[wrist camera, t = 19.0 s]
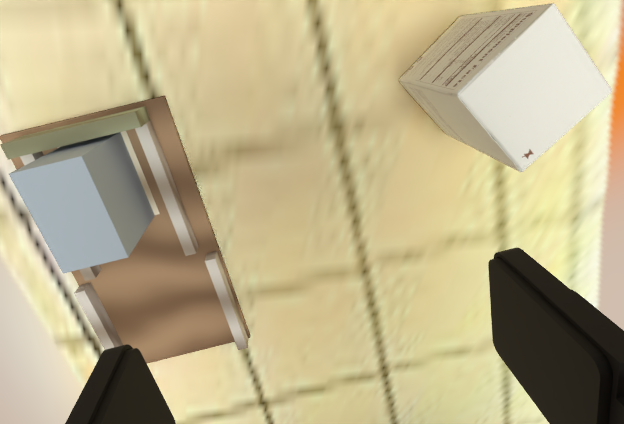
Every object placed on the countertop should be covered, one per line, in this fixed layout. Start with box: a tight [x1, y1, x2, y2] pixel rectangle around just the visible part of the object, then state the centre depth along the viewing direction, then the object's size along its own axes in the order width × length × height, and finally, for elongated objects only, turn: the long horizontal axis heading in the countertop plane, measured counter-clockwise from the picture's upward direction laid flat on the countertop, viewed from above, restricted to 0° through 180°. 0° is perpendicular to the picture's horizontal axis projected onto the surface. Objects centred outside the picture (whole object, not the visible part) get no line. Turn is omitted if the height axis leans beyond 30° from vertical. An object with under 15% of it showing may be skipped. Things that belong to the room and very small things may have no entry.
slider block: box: [9, 132, 155, 273], centre depth 33 cm, size 8×5×8 cm, turn 13°
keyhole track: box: [0, 96, 250, 363], centre depth 38 cm, size 26×14×3 cm, turn 13°
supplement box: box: [399, 3, 612, 172], centre depth 31 cm, size 7×7×13 cm
